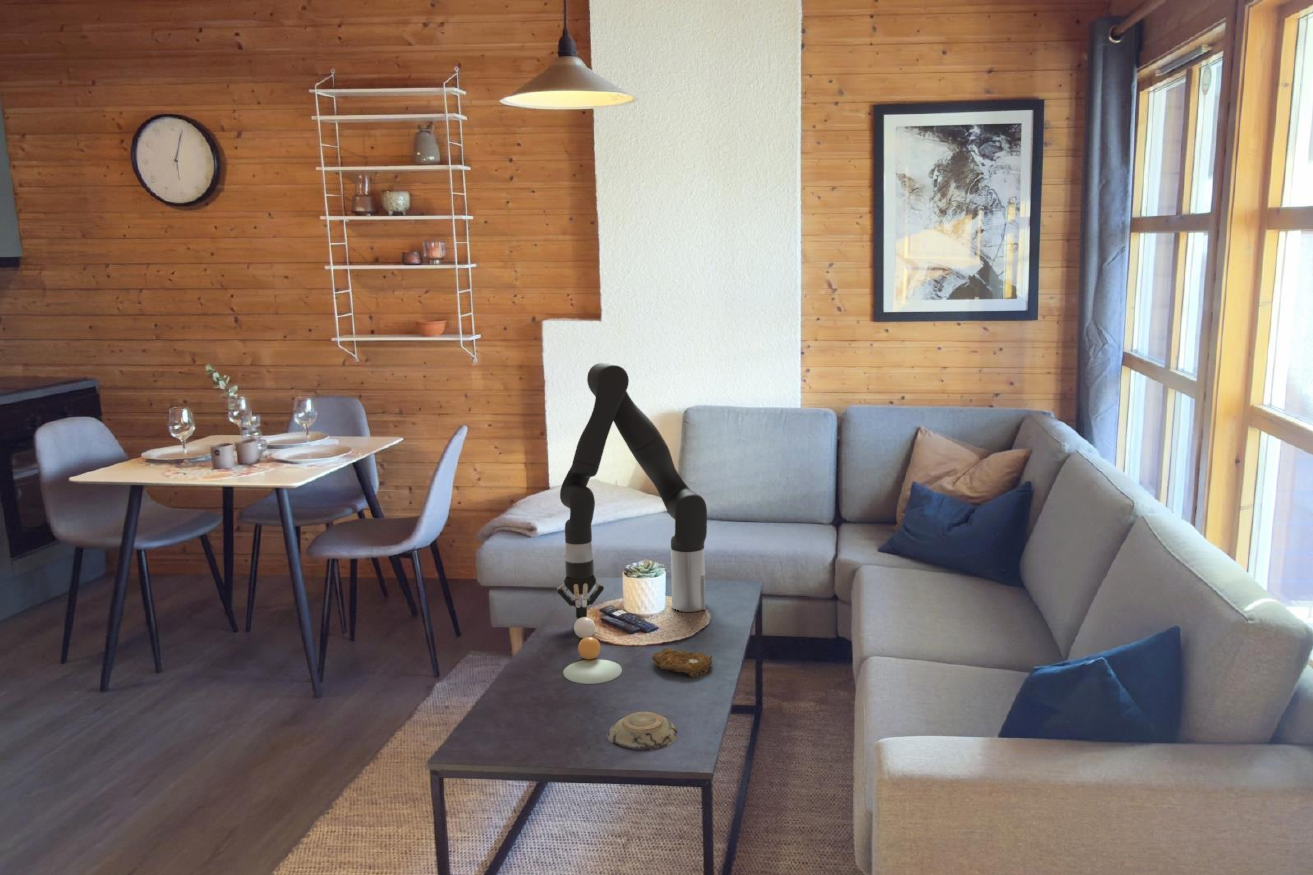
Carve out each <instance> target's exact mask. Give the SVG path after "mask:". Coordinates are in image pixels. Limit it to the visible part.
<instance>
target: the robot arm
mask: <svg viewBox="0 0 1313 875" xmlns="http://www.w3.org/2000/svg"><path fill="white" fill-rule="evenodd" d="M629 380H630V379H629V375H628V372H627V371H626V370H625V368H623V367H622V366H620V365H618V364H614V363H610V362H599V363H596V364H594V365H593V366H591V367H590V369H589V371H588V373H587V379H586V381H587V385H588V388H589V390H590V392H591V393H592V394H593V396H594V397H595V399H594V406H593V409H592V411H591V415H590V416H589V420H587V421H588V422H587V424H586V425H585V427H584V428H583V431H582V433H581V435H580V437H579V439H578V441H577V442H578V443H577V445H576V449H575V452H574V455H573V459H572V463H571V466H570V468H569V470H568V472H567V474H566V475H565V477H564V479H563V482H562V485H561V486H560V487H561V488H560V493H559V499H560V502H561V503H562V504H563V506H565V507H566V508H568V509H569V514H570V515H569V518H568V520H566V522H565V524H564V540H565V542H564V543H565V544H564V562H565V563H564V565H565V566H564V567H565V578H564V581H563V583H562V584H561V585H558V586H557V587H556V588H557V589H556V591H557V593H558V594H559V596H560V597H561V598H562V599H563V600H564V601H565V602H566V603H567V604H568V605H569V607H575V617H576V619H577V620H578V619H579V618H582V617H588V606H590V605H593V604H594V603H595V601H596V600H597V599H598V597H599V596H600V595H601V593H602V592H603V590H604V589H605V587H604V584H603V582H602V583H600V582H598V581H597V578H596V576H595V562H594V557H595V554H594V546H593V534H592V532H593V531H592V523H593V519H594V513H595V504H596V501H595V495H594V492H593V491H592V489H590V487H588V484H589V481H590V479H591V478H592V477H596V476H597V474H598V472H599V468H600V464H601V461H602V457H603V454H604V450H605V448H606V443H607V439H608V438H609V437H608V436H609V434H610V431H611V428H612V425H613V423H614V424H615V427H616V428H617V431H618V432H619V434H620V435H621V437H622V439H623V441H624V442H625V445H626V446H627V447H628V449H629V451H630V453H631V454H632V455H633V457H634V459H635V460H636V461H637V462H636V463H638V465H639V466H640V467H641V469H642V471H643V472H644V473H645V474H646V476H647V477H648V478H649V480H650V481H651V482H652V483H653V485H654V487H655V488H656V490H657V492H658V494H659V496H660V498H661V501H662V502H663V505H664V507H665V508H666V511H667V513H668V514H669V516H670V517H671V518H672V519H673V520H674V535H673V536H671V538H670V564H671V565H670V566H671V570H670V571H671V606H672V609H673V610H675V609H676V610H675V611H677V610H679V611H678V612H681V611H682V613H695V612H699V611H705V610H706V577H705V576H706V574H705V542H706V538H707V532H708V531H707V530H708V509H707V504H706V501H705V499H704V498H703V497H702V496H701V495H700V494H698V493H696V492H695V491H693V490H692V489H690V487H689V486H688V485H687V484H686V482H685V481H684V480H683V479H682V477H681V475H680V474H679V473H678V471H677V469H676V467H675V464H674V462H673V457H672V455H671V451H670V449H669V446H668V444H667V443H666V441H665V439H664V437H663V436H662V434H661V433H660V431H659V430H658V429H657V427H656V426H655V424H654V423H653V422H652V420H651V419H649V417H648V416H647V414H645V413H644V412H643V411H642V410H641V409H640V408H639V407H638V406H637V405H636V404H635V402H634V401H633V400H632V398H631V396H630V395H629V393H628V391H627V390H628V388H629ZM593 587H594V590H593V591H592V589H593ZM567 590H569V592H570V593H571V594H572V595H574V599H573V598H572V597H571V596H570V595H569V593H567ZM591 591H592V593H591ZM590 593H591V594H590ZM588 594H590V595H589V597H588ZM580 595H581V597H580ZM580 598H581V600H580ZM580 601H581V602H580Z"/></svg>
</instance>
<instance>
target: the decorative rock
mask: <svg viewBox="0 0 1313 875" xmlns="http://www.w3.org/2000/svg"><path fill="white" fill-rule="evenodd" d="M712 657H713V656H712V655H707V654H705V653H703V652H702V653H701V652H692V651H679V650H676V649H673V648H664V649H662V650H661V652H660V651H659V652H655V653H653V655H652V657H651V658H650V659H651V660H652V661H653V662H654V664H655V666H657V667H660V669H661V670H663V669H665V670H667V671H671V672H672V673H676V672H678V673H684V674H687V676H690V677H692V678H693V679H694V678H695V677H696V678H697V677H699V676H708V675H709V672H711V666H712V663H713V659H712Z"/></svg>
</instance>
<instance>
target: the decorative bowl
mask: <svg viewBox="0 0 1313 875" xmlns="http://www.w3.org/2000/svg"><path fill="white" fill-rule="evenodd" d="M677 732H678V729H677V727H676V725H675V724H674V723H672V721H670V720H669V719H668V718H666V717H664V716H663V715H659V714H658V713H655V712H652V711H638V712H632V713H630V714H627V715H626V716H625V717H623V718H621V719H619V720H617V721H616V722H615V723H614V724H613V725H611V727H610V728H609V731H608V732H607V734H606V735H607V739H608V740H609V742H610V743H611V744H616V745H618V746H620V747H623V748H625V749H629V750H634V751H637V752H638V751H639V752H647V751H650V752H651V751H656V750H659V749H660V750H661V749H664V748H666V747H668V746H670V745H671V744H673V743H675V741H677V739H678V735H677Z"/></svg>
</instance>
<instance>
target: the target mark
mask: <svg viewBox="0 0 1313 875" xmlns="http://www.w3.org/2000/svg"><path fill="white" fill-rule="evenodd" d="M622 672H623V669H622V666H621V665H620V664H619V663H616V662H614V661H612V660H608V659H607V660H606V659H601V658H600V659H599V658H598V659H597V658H594V659H590V660H588V659H584V660H580V661H579V660H578V661H575V662H572V663H570V664H569V665H567V666H566V667H565V668H564V669H563V672H562V675H563V676H564V678H565V679H567V680H568V681H569V682H573V683H577V684H583V685H584V684H585V685H596V684H603V683H608V682H611V681H613V680H615V679H617V678H618V677H620V675H622Z"/></svg>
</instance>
